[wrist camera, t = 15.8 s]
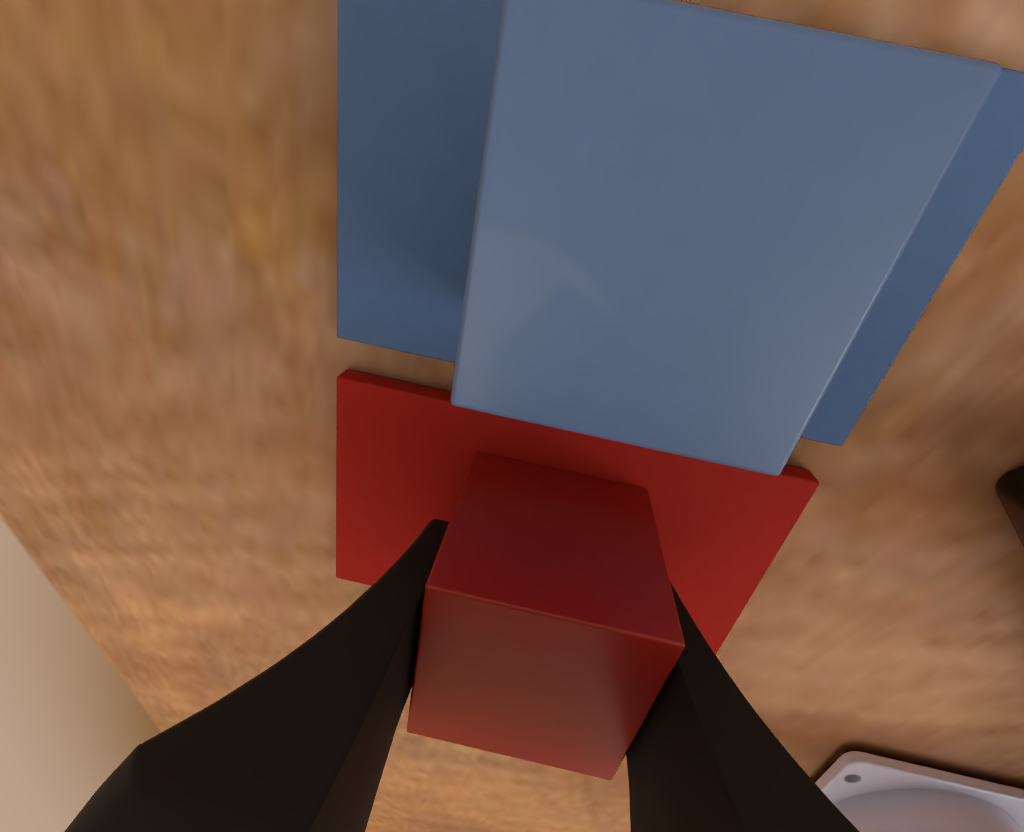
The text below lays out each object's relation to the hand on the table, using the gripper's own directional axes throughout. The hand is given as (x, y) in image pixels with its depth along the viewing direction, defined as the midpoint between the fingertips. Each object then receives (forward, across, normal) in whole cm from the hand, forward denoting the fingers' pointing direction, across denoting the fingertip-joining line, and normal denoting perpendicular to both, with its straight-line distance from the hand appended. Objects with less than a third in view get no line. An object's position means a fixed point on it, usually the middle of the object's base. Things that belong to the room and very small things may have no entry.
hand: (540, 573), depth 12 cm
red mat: (+2, 0, 0) cm, 2 cm away
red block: (+1, 0, 0) cm, 1 cm away
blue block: (+1, 0, -8) cm, 8 cm away
